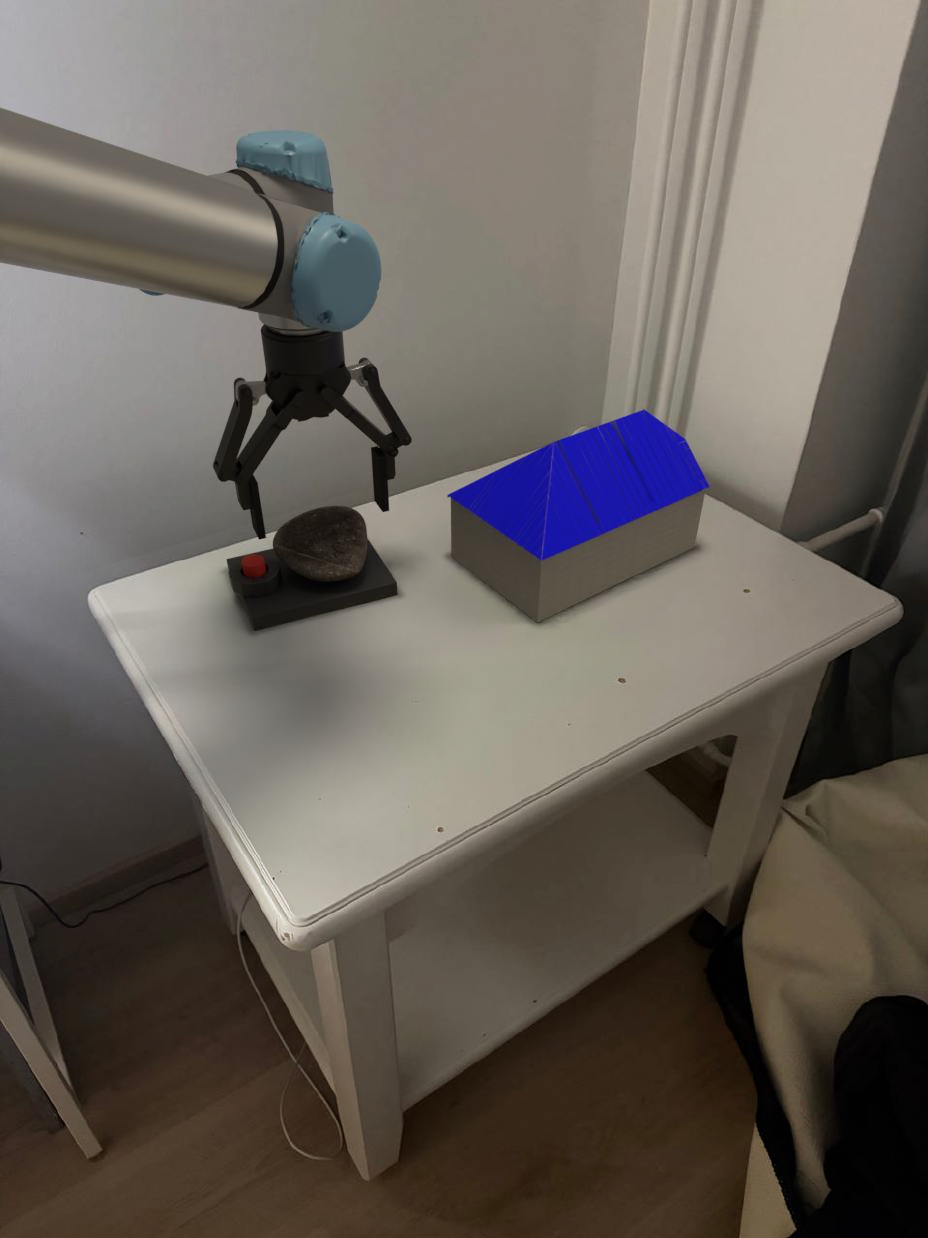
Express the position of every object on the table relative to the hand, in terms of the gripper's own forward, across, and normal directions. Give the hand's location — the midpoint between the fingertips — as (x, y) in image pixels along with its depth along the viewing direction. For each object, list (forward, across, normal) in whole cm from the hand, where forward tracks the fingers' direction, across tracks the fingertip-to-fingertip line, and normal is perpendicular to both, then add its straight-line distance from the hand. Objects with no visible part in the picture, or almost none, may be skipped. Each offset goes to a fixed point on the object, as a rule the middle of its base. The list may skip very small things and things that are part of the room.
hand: (322, 519), depth 95 cm
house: (+8, +28, -6) cm, 30 cm away
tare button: (+5, -8, 0) cm, 9 cm away
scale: (+8, -2, 0) cm, 8 cm away
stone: (+6, 0, 0) cm, 6 cm away
